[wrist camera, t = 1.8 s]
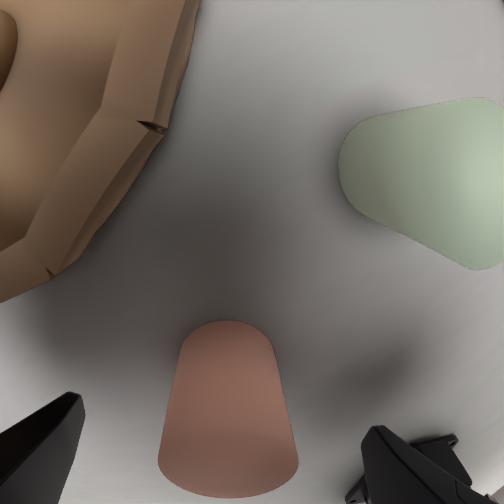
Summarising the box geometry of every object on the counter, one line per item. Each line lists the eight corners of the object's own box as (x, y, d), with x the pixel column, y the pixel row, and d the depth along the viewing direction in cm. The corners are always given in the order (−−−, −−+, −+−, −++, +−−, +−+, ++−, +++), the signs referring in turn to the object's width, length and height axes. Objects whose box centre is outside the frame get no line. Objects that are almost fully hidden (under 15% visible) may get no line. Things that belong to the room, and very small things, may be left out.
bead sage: (415, 229, 10) (512, 279, 5) (327, 208, 10) (407, 255, 5) (435, 136, 9) (540, 138, 4) (348, 102, 9) (442, 67, 4)
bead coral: (263, 399, 12) (278, 499, 7) (176, 388, 11) (159, 489, 7) (285, 327, 11) (317, 432, 6) (183, 312, 10) (157, 418, 6)
